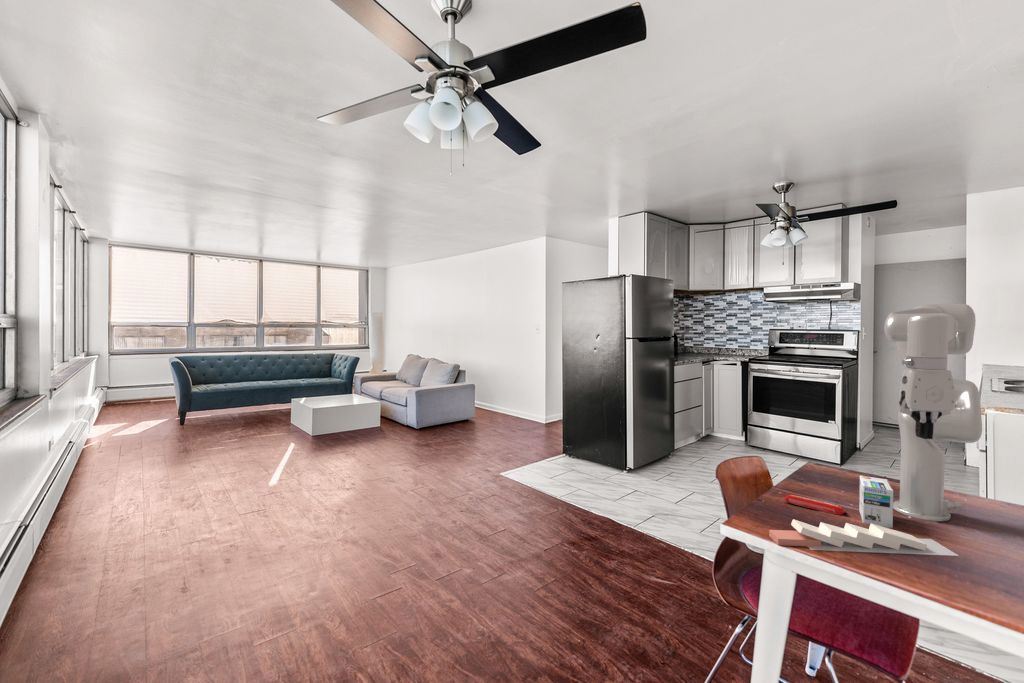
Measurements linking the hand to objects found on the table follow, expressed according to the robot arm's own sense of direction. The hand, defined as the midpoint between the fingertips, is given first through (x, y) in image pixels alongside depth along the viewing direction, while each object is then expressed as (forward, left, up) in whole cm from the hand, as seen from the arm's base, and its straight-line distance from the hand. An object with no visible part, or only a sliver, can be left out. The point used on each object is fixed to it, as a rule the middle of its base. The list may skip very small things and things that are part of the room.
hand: (924, 437), depth 115 cm
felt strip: (+12, +2, -27) cm, 30 cm away
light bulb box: (+2, -14, -27) cm, 31 cm away
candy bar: (+15, -21, -28) cm, 38 cm away
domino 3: (+14, +2, -26) cm, 30 cm away
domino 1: (+26, +2, -26) cm, 37 cm away
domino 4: (+8, +2, -26) cm, 27 cm away
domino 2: (+21, +2, -26) cm, 33 cm away
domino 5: (+2, +2, -26) cm, 26 cm away
